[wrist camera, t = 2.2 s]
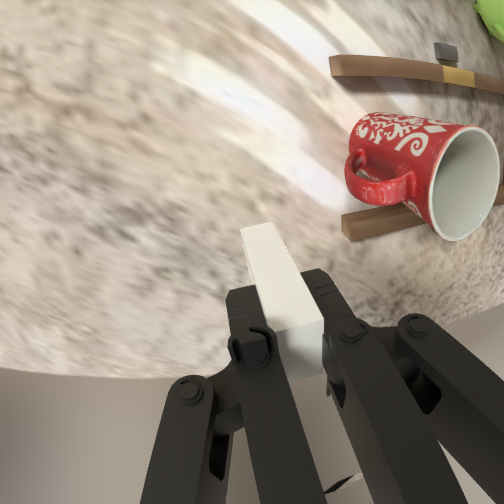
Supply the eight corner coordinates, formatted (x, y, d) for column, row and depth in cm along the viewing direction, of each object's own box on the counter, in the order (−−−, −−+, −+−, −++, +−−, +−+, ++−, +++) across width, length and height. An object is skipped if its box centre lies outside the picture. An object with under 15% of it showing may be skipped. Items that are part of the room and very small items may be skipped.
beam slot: (324, 29, 20) (335, 24, 18) (511, 68, 22) (522, 70, 20) (341, 253, 34) (350, 264, 32) (503, 209, 36) (512, 216, 33)
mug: (407, 102, 25) (505, 127, 14) (409, 177, 30) (492, 229, 18) (302, 109, 25) (383, 129, 13) (312, 196, 29) (381, 268, 18)
